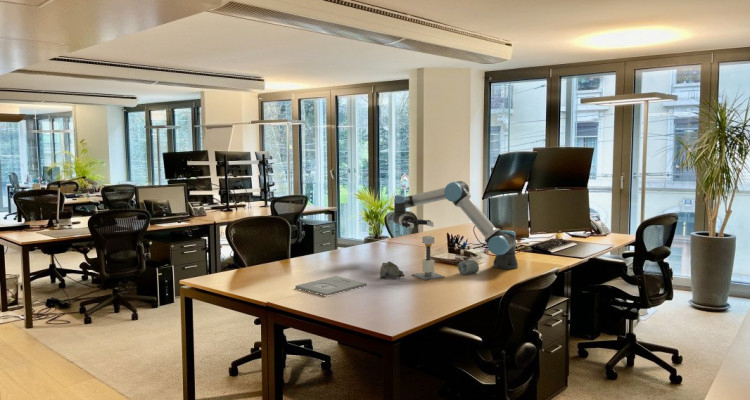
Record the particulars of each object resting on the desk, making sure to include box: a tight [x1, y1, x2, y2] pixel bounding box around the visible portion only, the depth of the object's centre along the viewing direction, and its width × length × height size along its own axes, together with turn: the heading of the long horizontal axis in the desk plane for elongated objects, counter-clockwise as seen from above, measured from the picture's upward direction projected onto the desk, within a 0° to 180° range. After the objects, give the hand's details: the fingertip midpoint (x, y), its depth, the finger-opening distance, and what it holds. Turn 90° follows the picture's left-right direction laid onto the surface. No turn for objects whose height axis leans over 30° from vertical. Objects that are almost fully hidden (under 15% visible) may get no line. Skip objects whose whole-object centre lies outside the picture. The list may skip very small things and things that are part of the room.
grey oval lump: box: [457, 259, 480, 276], centre depth 338 cm, size 14×10×10 cm
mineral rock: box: [379, 261, 406, 279], centre depth 327 cm, size 13×11×10 cm
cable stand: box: [411, 235, 446, 281], centre depth 330 cm, size 14×14×23 cm
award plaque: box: [295, 275, 368, 296], centre depth 308 cm, size 25×30×2 cm
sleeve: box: [421, 258, 435, 273], centre depth 331 cm, size 5×5×7 cm
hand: (423, 225), depth 344 cm, fingers open, 13 cm apart
